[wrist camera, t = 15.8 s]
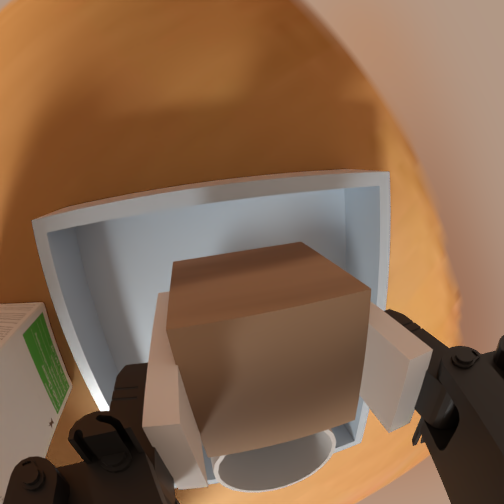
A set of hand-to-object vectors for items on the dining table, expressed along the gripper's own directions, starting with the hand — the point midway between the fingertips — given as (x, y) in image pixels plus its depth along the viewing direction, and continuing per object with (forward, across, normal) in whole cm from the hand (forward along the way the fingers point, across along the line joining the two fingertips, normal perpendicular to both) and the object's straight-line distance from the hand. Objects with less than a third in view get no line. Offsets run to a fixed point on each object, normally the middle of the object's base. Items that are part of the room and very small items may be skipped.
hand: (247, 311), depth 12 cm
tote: (+9, 0, -7) cm, 11 cm away
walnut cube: (0, 0, 0) cm, 0 cm away
